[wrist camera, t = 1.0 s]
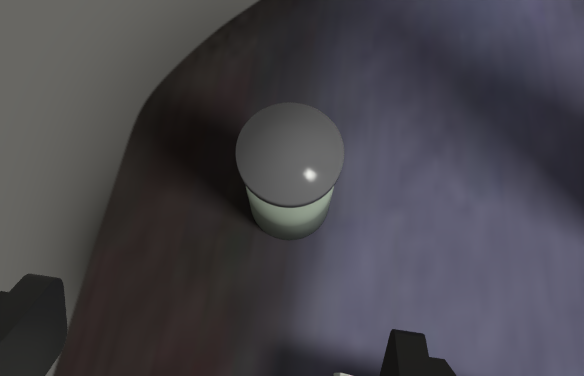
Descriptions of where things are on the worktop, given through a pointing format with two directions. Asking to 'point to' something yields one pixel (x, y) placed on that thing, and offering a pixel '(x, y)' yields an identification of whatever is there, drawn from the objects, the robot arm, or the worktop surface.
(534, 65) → the worktop surface
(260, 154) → the jar
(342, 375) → the tray
